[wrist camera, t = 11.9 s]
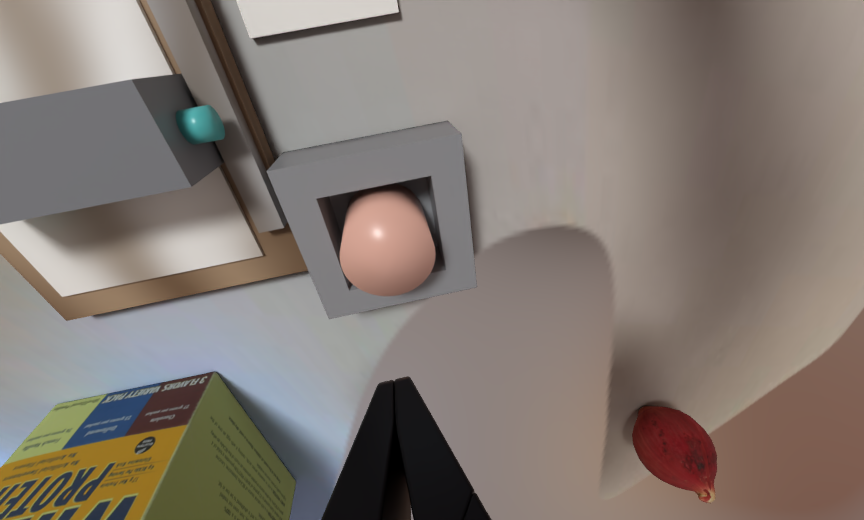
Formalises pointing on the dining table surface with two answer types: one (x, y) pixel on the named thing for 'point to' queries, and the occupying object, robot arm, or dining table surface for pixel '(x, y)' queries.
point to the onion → (676, 450)
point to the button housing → (370, 167)
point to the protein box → (148, 459)
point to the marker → (103, 146)
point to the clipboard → (154, 214)
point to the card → (307, 13)
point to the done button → (386, 241)
